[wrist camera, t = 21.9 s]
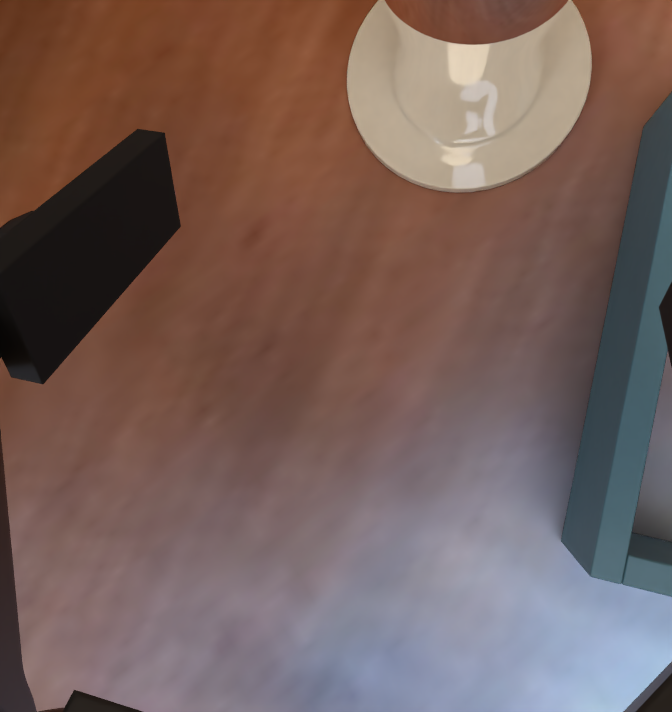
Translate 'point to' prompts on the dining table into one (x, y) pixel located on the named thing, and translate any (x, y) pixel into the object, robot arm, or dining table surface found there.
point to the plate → (479, 159)
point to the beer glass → (469, 63)
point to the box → (628, 384)
